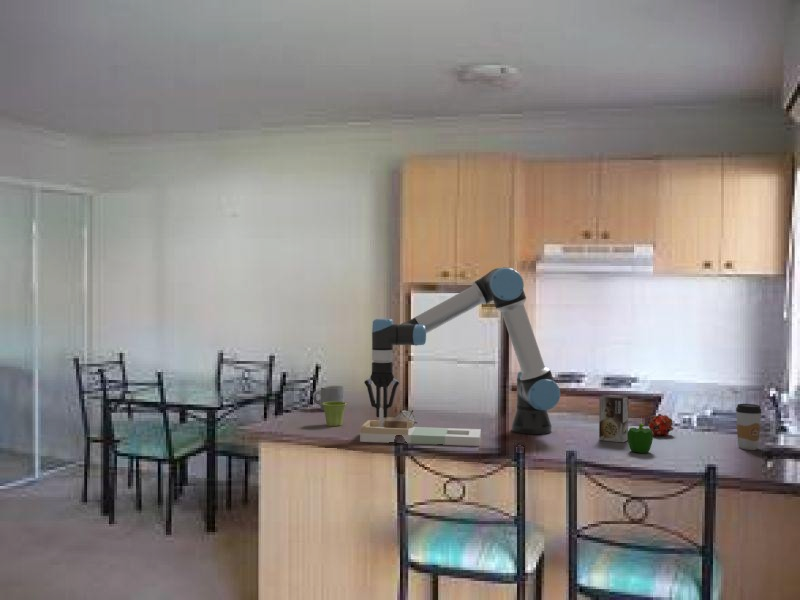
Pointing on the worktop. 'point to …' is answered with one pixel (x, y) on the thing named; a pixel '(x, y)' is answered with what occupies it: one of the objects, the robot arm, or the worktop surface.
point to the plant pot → (334, 413)
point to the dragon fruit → (660, 425)
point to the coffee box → (613, 418)
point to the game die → (407, 415)
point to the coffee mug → (329, 395)
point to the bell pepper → (640, 439)
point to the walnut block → (396, 422)
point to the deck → (420, 434)
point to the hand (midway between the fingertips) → (381, 426)
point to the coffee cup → (748, 425)
